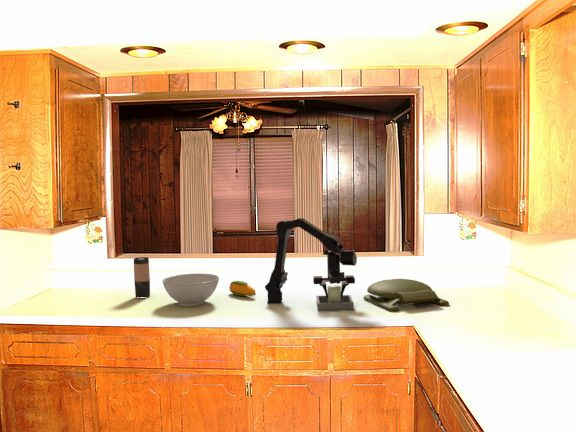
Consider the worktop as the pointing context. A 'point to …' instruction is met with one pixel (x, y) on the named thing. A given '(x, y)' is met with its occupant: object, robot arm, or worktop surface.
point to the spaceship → (402, 293)
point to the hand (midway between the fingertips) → (334, 298)
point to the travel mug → (142, 277)
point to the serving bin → (335, 304)
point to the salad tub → (334, 294)
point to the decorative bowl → (191, 288)
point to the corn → (241, 288)
